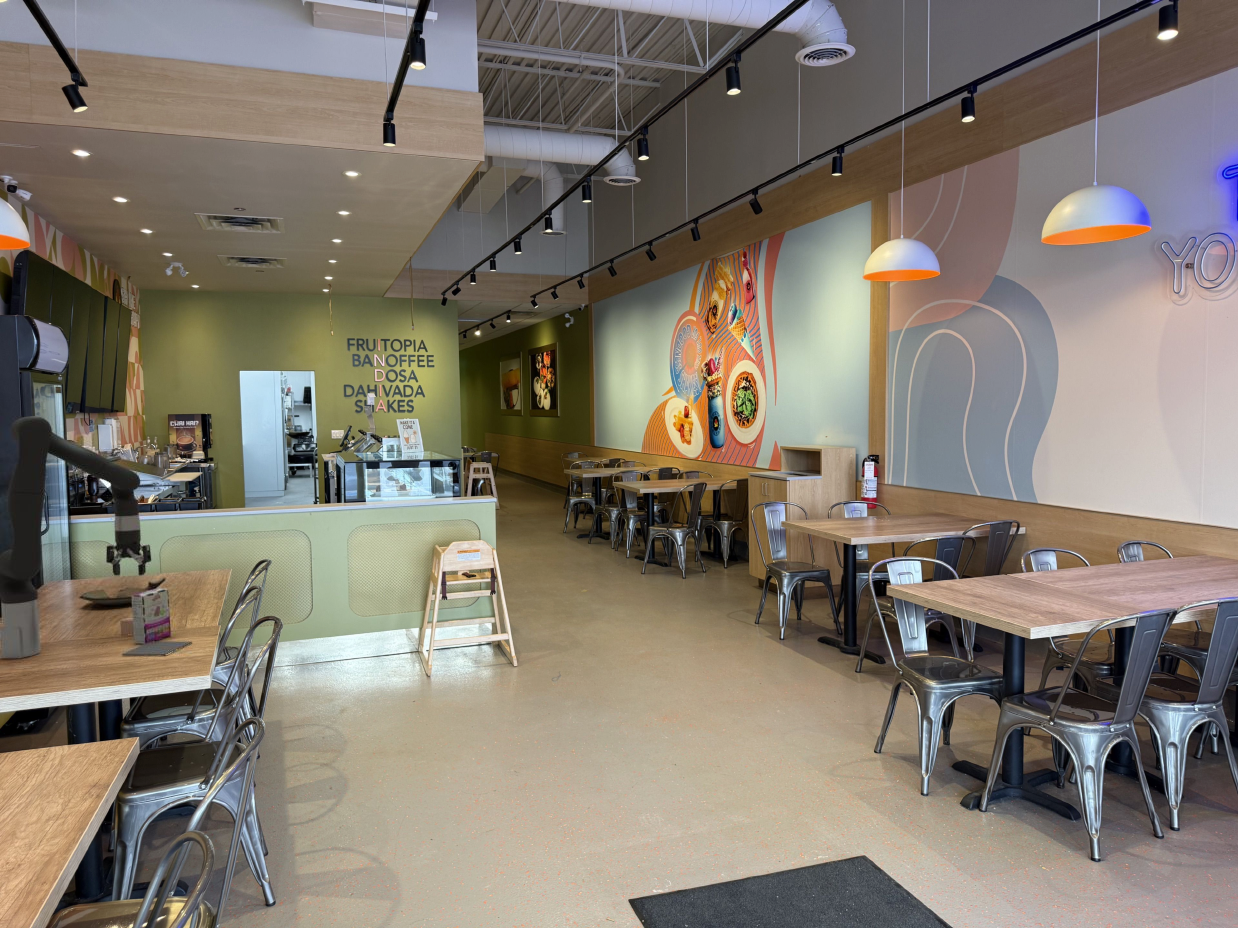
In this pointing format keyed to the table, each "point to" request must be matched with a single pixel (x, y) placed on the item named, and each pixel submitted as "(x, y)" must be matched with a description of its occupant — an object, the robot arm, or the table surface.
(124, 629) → the letter cube
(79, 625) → the table surface
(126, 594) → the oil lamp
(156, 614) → the candy bar box
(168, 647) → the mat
